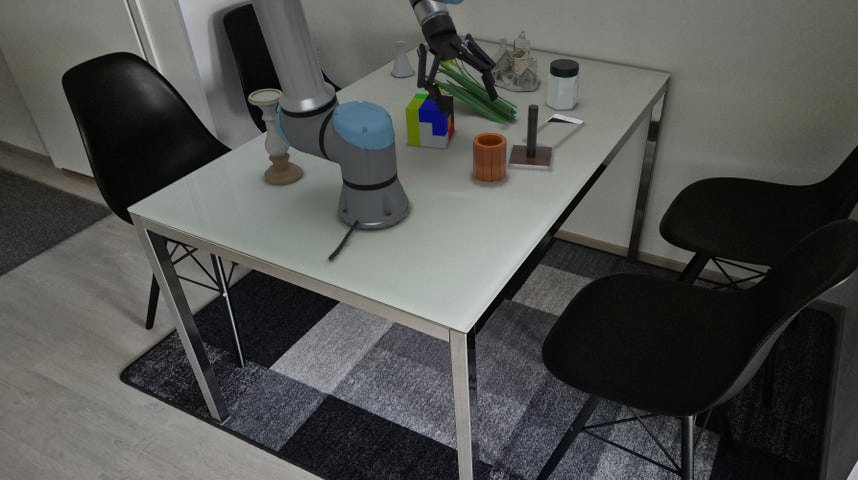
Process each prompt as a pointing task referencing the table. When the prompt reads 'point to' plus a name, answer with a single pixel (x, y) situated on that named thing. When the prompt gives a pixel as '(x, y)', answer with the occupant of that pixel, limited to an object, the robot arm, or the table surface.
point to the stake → (531, 144)
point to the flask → (401, 62)
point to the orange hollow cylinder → (489, 157)
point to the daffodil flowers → (474, 94)
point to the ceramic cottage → (515, 66)
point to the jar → (563, 84)
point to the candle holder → (274, 140)
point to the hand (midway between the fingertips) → (470, 106)
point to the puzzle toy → (429, 121)
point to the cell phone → (564, 119)
